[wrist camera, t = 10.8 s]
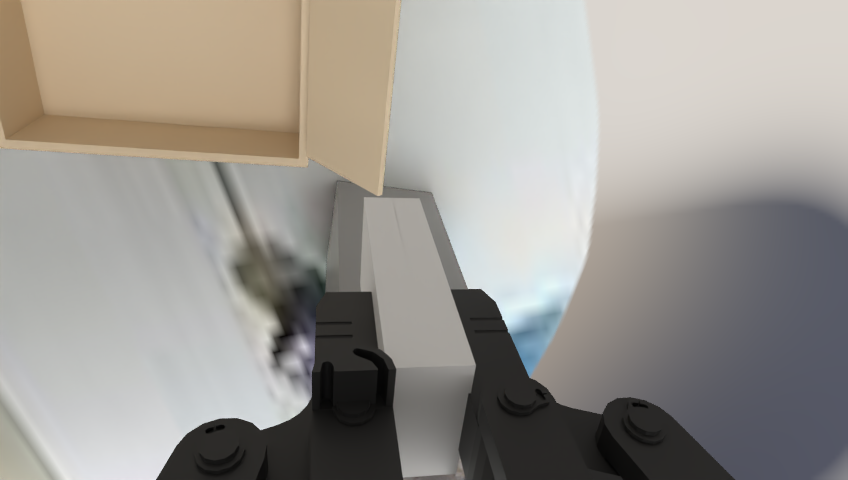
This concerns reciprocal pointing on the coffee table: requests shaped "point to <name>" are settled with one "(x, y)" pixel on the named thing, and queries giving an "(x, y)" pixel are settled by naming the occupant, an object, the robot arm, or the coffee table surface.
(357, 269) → the perfume bottle
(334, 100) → the flap
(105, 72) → the carton
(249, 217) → the coffee table surface
